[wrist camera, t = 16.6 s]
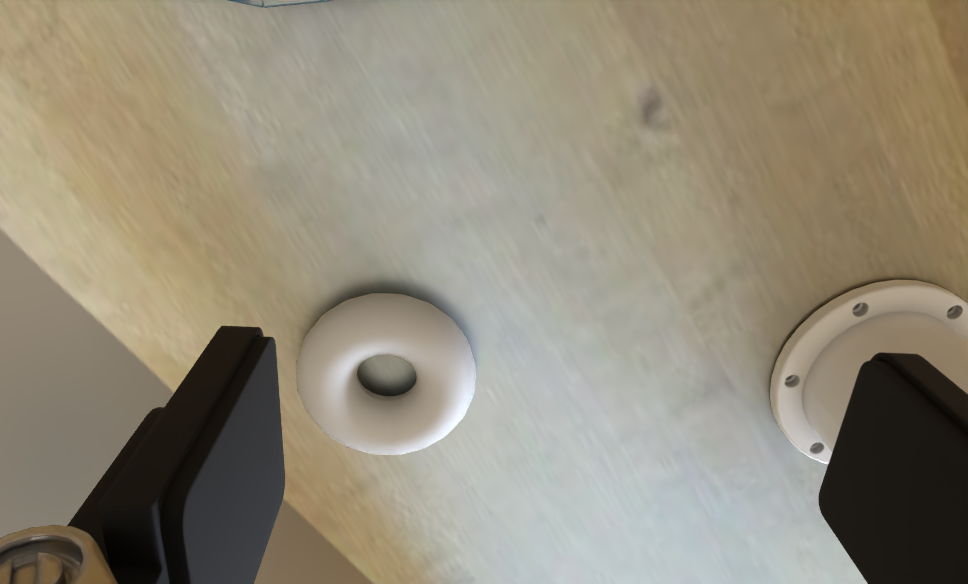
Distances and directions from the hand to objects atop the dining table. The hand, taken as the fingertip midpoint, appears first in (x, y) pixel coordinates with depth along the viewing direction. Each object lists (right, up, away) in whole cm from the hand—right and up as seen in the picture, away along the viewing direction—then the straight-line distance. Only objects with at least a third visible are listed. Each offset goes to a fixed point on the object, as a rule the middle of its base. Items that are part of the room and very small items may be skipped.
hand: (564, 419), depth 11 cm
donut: (-7, -2, +29) cm, 30 cm away
